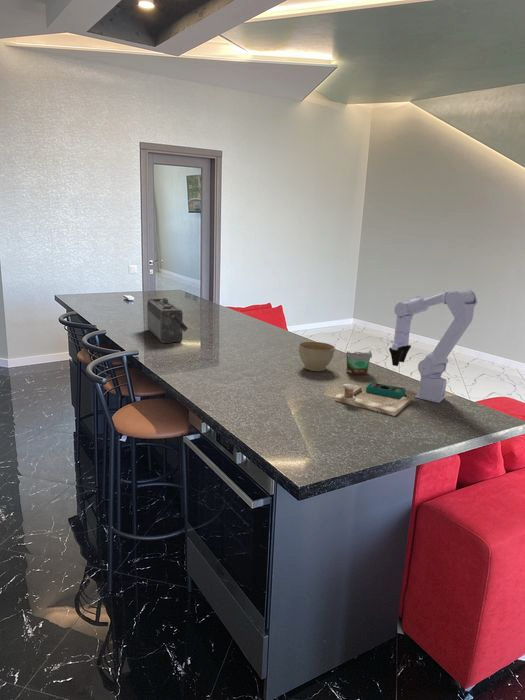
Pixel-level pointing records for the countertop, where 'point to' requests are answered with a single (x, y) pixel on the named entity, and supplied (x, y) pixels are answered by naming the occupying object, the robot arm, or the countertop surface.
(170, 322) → the radio
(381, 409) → the notched board
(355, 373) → the food container
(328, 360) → the planter bowl
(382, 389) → the digital multimeter
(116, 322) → the countertop surface
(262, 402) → the countertop surface
